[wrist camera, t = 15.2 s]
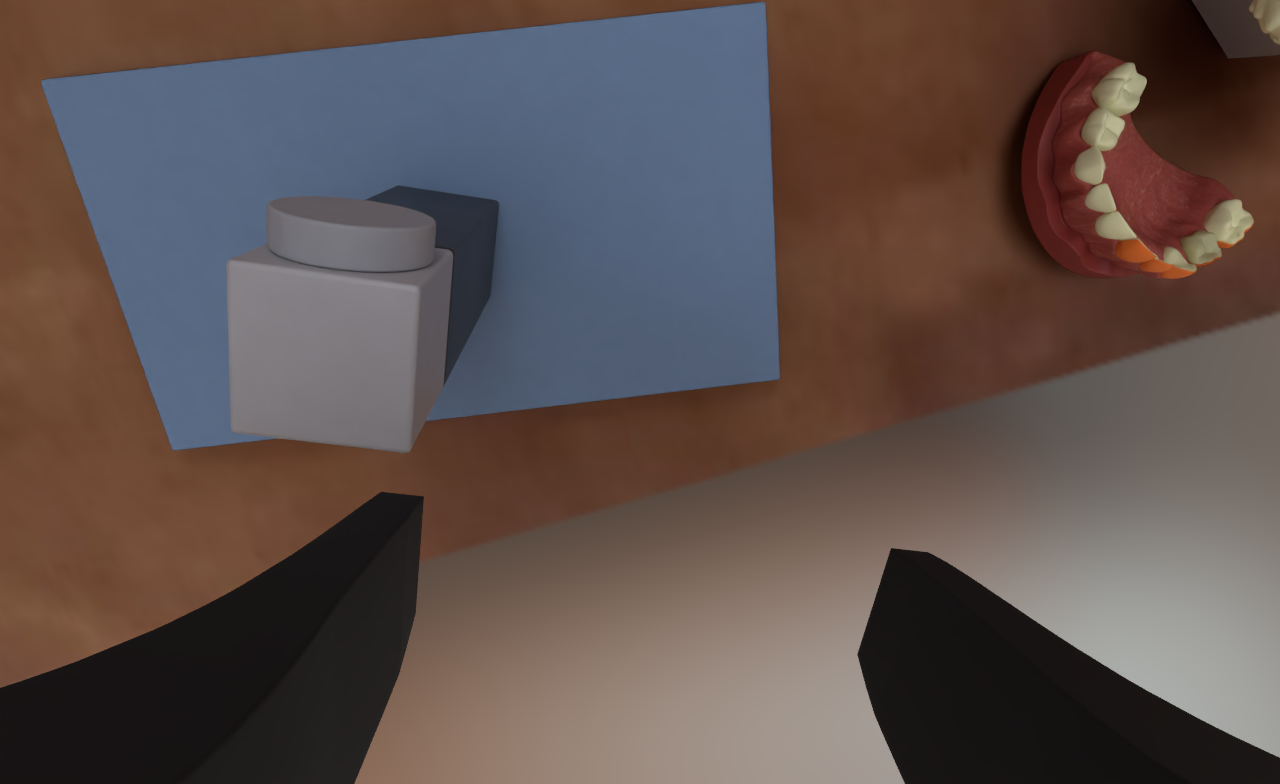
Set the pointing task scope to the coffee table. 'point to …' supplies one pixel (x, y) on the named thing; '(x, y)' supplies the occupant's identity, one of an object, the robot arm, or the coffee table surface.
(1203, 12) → the icon cube
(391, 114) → the rubber mat
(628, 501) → the coffee table surface
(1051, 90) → the dentures
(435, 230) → the grey toy brick
